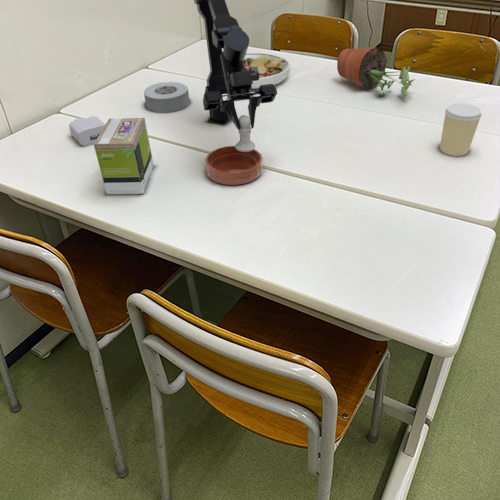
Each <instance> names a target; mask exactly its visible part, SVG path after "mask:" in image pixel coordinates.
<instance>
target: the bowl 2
mask: <svg viewBox="0 0 500 500" xmlns="http://www.w3.org/2000/svg"><path fill="white" fill-rule="evenodd" d="M243 61H244V65H245V69H246V71H249V68H251V67H257V68H258V72H259V80H257V81H253V84H252V87H251V89H250V90H256V89H257V90H259V87H260V85H267V84H274V85H275V86H276V85H279V84H280V83H282V82H283V81H285V80H286V79H287V77H289V74H290V71H291V63H290V61H289V60H288V59H286V58H284V57H282V56H279V55H276V54H270V53H261V52H248V53H247V52H246V55H245V58H244V59H243Z"/></svg>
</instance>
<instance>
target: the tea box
mask: <svg viewBox="0 0 500 500" xmlns="http://www.w3.org/2000/svg"><path fill="white" fill-rule="evenodd" d="M104 124H105V126H104V128H103V130H102V131H101V133H100V135H99V136H98V138H97V140H96V142H95V143H94V144H93V147H94V151H95V154H96V158H97V163H98V167H99V170H100V174H101V178H102V182H103V186H104V189H105V193H106V195H142V194H143V195H144V193H145V191H146V187H147V184H148V182H149V179H150V176H151V174H152V171H153V169H154V165H155V164H154V159H153V155H152V150H151V143H150V139H149V134H148V129H147V124H146V119H145V117H128V118H127V117H124V118H122V117H121V118H108V119H107V121H106V123H104Z"/></svg>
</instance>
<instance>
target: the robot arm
mask: <svg viewBox="0 0 500 500" xmlns="http://www.w3.org/2000/svg"><path fill="white" fill-rule="evenodd" d="M193 2H194V5H196V9H197V12H198V13H199V15H200V17H201V18H202V19H203V22H204V30H205V38H206V39H205V40H206V47H207V56H208V62H209V63H208V65H209V73H208V75H207V78H206V85H205V88H204V93H203V98H202V105H203V110H204V111H208V113H209V118H208V119H206V121H207V122H208V123H212V124H217V125H222V126H223V125H226V124H227V123H229V122H230V121H232V123H233V124H234V126H235V128H236V129H237V130H238V131H239V130H240V123H239V116H238V113H237V110H236V105H235V102H239V101H240V102H241V101H248V105H247V111H248V117H249V118H250V120H251V124H250V127H251V129H254V128H255V120H256V112H257V108H258V107H260V105H261V104H269V103H272V102H274V101H275V99H276V96H277V95H278V90H277V86H276V85H274V84H267V85H260V87H259V89H257V90H252V89H251V87H252V84H253V81H257V80H259V72H258V68H257V67H251V68H249V71H246V69H245V65H244V61H243V59H244V58H245V55H246V53H247V51H248V48H249V45H250V36H249V35H248V34H247V33H246V32H245V31H244V30H243V28H242V27H240V24H239V21H238V19H236V18H235V17H233V16H231V13H230V11H229V8H228V4H227V2H226V0H193Z"/></svg>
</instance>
